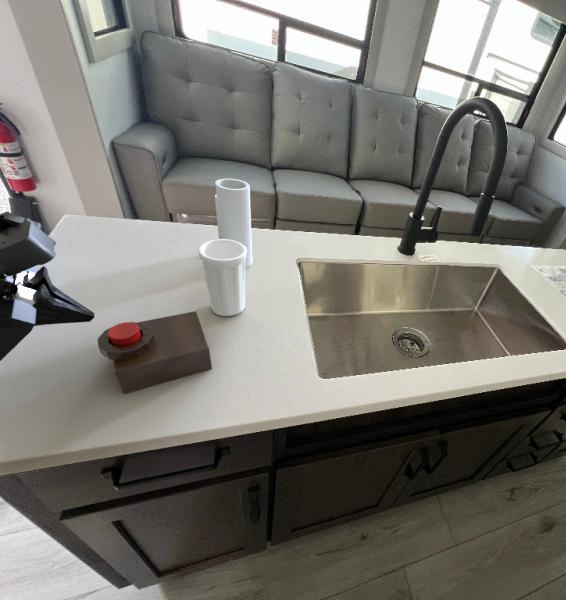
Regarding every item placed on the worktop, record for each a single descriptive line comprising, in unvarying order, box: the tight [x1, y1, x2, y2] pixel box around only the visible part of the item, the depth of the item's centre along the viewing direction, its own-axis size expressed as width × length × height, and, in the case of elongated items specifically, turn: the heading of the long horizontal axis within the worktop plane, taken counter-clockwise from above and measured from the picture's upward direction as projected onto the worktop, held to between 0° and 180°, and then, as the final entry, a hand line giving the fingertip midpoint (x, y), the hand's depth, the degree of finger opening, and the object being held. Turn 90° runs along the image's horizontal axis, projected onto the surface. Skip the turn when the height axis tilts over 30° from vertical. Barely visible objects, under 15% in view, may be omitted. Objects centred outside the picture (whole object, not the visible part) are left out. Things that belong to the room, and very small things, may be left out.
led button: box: [108, 321, 141, 347], centre depth 50 cm, size 4×4×2 cm
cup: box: [198, 238, 247, 317], centre depth 65 cm, size 8×8×14 cm
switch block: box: [97, 311, 213, 395], centre depth 54 cm, size 13×10×7 cm
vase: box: [214, 177, 253, 269], centre depth 78 cm, size 11×7×20 cm, turn 24°
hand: (92, 317), depth 46 cm, fingers closed
